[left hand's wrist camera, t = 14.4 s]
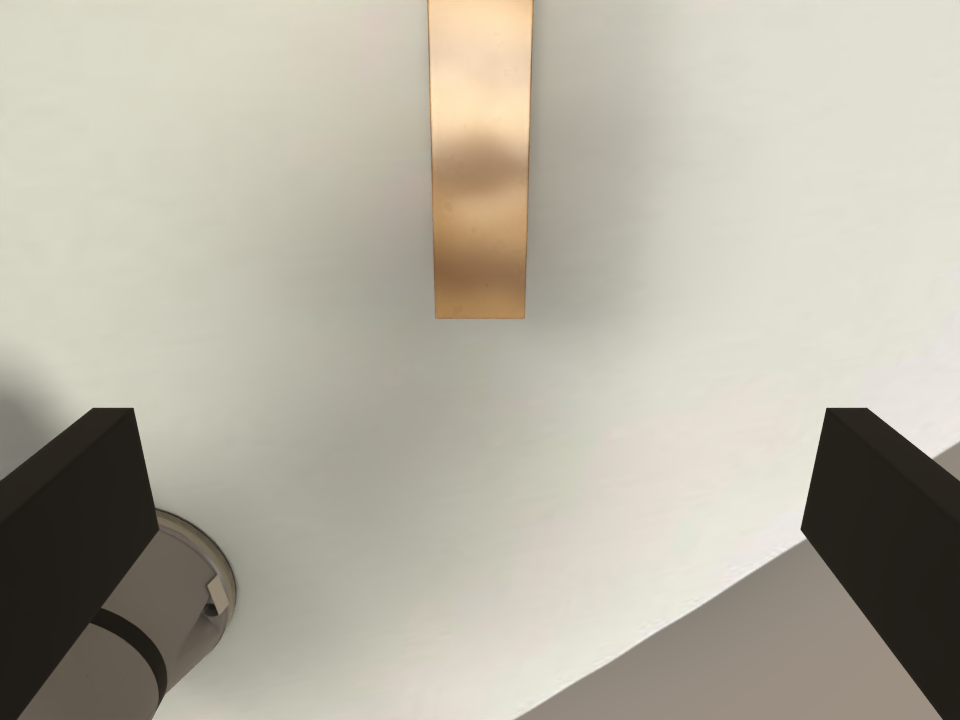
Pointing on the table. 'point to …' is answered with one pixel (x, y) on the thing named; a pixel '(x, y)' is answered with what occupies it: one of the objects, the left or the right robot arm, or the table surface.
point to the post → (480, 155)
